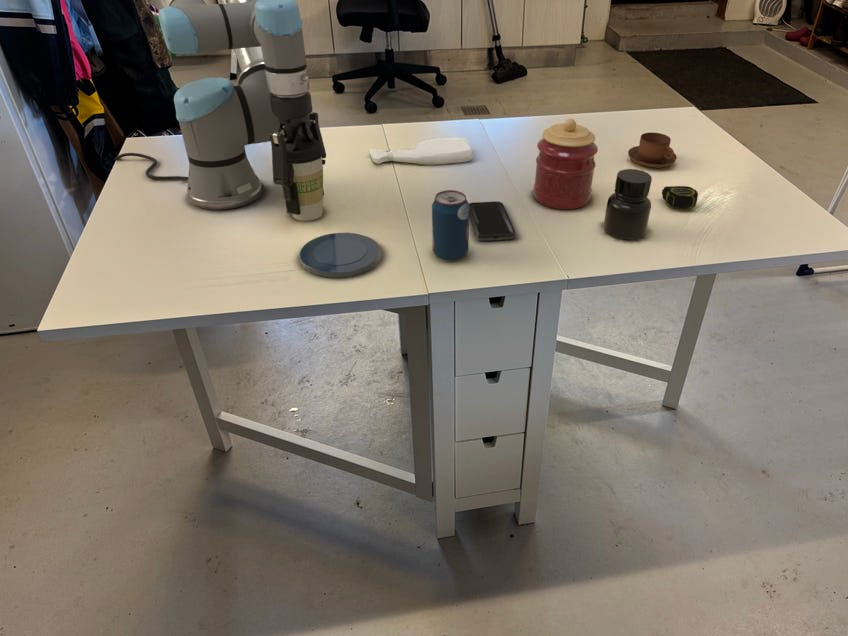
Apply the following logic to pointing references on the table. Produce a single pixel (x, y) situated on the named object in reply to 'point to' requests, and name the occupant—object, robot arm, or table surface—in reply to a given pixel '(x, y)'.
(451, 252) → the soda can
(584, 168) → the kitchen canister
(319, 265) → the plate
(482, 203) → the phone
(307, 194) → the coffee cup
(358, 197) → the table surface
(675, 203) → the tape measure
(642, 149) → the cup and saucer
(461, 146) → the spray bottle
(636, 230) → the ink bottle
